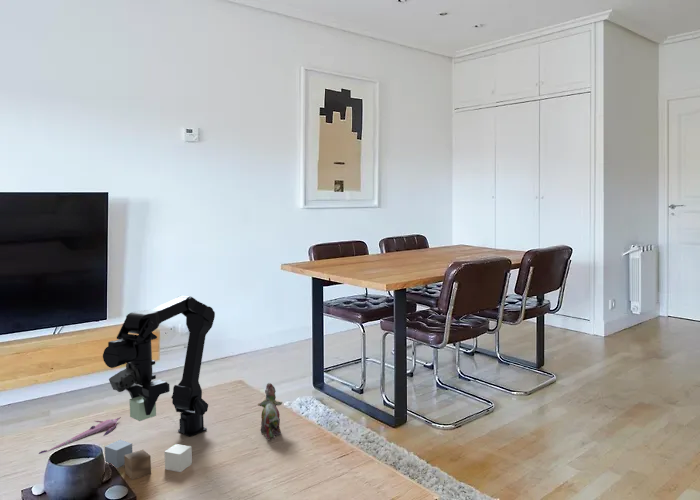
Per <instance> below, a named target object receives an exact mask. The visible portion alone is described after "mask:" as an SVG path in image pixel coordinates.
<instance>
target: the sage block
mask: <svg viewBox="0 0 700 500" xmlns="http://www.w3.org/2000/svg"><path fill="white" fill-rule="evenodd" d="M129 417H130V418H131V419H134V420H137V421H138V422H141V421H144V420H147V419H150V418H153V417H157V402H156V403H155V405H154V407H153V410H152V412H151V414H150V415H146V412H145V406H144V400H143V398H142V397H141V396H139V397H136V398H130V399H129Z"/></svg>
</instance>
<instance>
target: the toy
mask: <svg viewBox="0 0 700 500" xmlns="http://www.w3.org/2000/svg"><path fill="white" fill-rule="evenodd" d="M121 418H122V417H121V416H120V417H117V418H112V419H110V418H109V419H106V420H104V421H103V420H102V421H101V420H94V422H95V423H98V424H96V425H92V426H90V428H89V429H86V430H85V431H83V432H81V433H79V434H77V435H75V436H73V437H71V438H69V439H67V440H65V441H63V442H61V443H59V444H58V445H56V446H54V447H51V448H49V449H48V450H47V449H46V450H41V451H39V453H38V455H39V454H43V453H47V452H50V451H53V450H55V449H58V448H61V447H63V446H66V445H68V444H70V443H73V442H76V441H78V440H80V439H83V438H86V437H87V436H88V437H89V436H91V435H94V434H96V433H97V434H98V433H100V432H102V431H105V432H104V434H103V437H105V436H107V435H109V434H110V433H111V432H113V430H114V429H115V428H116V427H117V424H118V421H119V420H120V419H121Z"/></svg>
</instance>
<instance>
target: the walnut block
mask: <svg viewBox="0 0 700 500" xmlns="http://www.w3.org/2000/svg"><path fill="white" fill-rule="evenodd" d="M151 459H152V458H151V455H150V454H149V453H148V452H147V451H145V450H144V449H139V450H137V451H134V452H133V451H132V453H130V454H127V455H124V460H125V465H124V473H125V475H126V476H128V477H129V478H130V480H131V481H133V480H137V479H139V478H140V479H141V478H142V477H145V476H148V475H151V474H152V461H151Z"/></svg>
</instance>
